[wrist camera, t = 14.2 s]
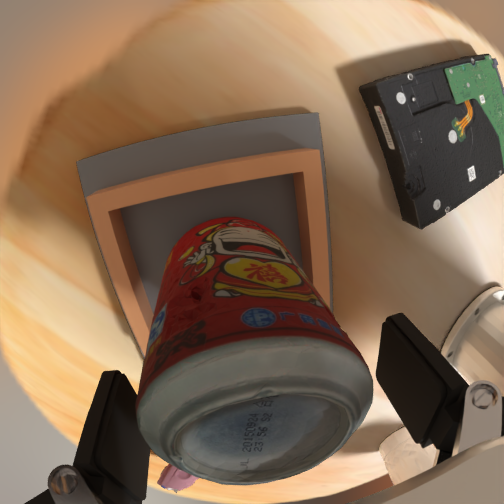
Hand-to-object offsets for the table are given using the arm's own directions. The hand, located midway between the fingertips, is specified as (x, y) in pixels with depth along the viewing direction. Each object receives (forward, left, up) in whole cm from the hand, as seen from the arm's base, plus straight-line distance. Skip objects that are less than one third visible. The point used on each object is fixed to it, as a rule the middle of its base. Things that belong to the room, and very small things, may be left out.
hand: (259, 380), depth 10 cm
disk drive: (-18, -7, -11) cm, 22 cm away
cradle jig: (+1, 0, -10) cm, 10 cm away
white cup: (-18, +34, -10) cm, 40 cm away
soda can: (0, 0, -9) cm, 9 cm away
